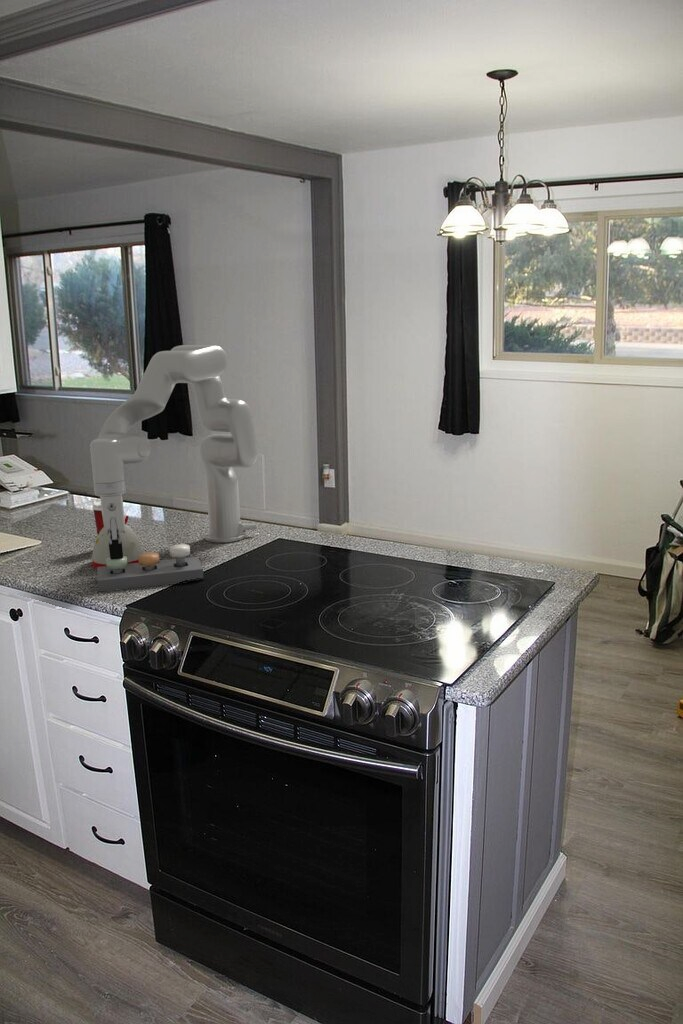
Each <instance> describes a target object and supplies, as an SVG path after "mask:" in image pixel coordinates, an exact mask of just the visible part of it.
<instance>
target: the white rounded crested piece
mask: <svg viewBox="0 0 683 1024" xmlns="http://www.w3.org/2000/svg"><path fill="white" fill-rule="evenodd" d="M124 518H125V530H126V532H125V533H123V532H120V540H121V542H122V550H123V556H126V557H127V563H128V564H132V563H139V560H138V556H139V555H140V554H143V553H144V549H143V547H142V544H141V542H140V540H139V538H138V536H137V534H136V533H135V532H134V530H133V529H132V528H131V527H130V526H129V525H128V521H129V516H128V515H126V517H124ZM99 520H100V521H101V523H102V525H103V526H104V522H103V520H102V519H101V518H99ZM109 543H110V541H109V534H108V535H107V534H106V531H105V527H103V528H102V530H101V531H100V532H99V534H97V536H96V538H95V541H94V545H93V550H92V554H91V563H92V567H93V568H95V569H97V567H103V566H107V565H106V559H107V558H109V557H110V551H109Z"/></svg>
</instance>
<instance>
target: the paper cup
mask: <svg viewBox="0 0 683 1024" xmlns="http://www.w3.org/2000/svg"><path fill="white" fill-rule="evenodd" d="M92 505H93V506H92V510H93V514H94V520H95V527H96V528H95V529H96V534H97V535H98V534H99V532H100V531H101V530H102V528H103V527H104V526H103V525H102V523H101V521H100V520H99V518H101V519H102V520H103V517H102V509H101V501H96V502H93V504H92Z"/></svg>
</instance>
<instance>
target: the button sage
mask: <svg viewBox="0 0 683 1024" xmlns="http://www.w3.org/2000/svg"><path fill="white" fill-rule="evenodd" d="M106 565H107V568H108V569H113V574H117V573H123V571H122V568H124V567H127V566H128V563H127V557H126V556H123V558H120V559H110V557H109V558H107V559H106Z"/></svg>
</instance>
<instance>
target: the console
mask: <svg viewBox="0 0 683 1024" xmlns="http://www.w3.org/2000/svg"><path fill="white" fill-rule="evenodd" d="M185 564H186V565H185V566H183V567H177V566H176V558H172V559H170V558H169V559H162V560H160V559H159V563H158V564H155V565H154V570H145V566H142V565H139V563H132V564H128V566H127V567H124V568H122V571H123V573H117V574H113V569H108V568H107V566H103V567H97V568H96V569H97V570H96V571H97V572H96V573H97V574H96V575H97V587H98V592H99V591H103V592H108V591H107V590H112V591H117V590H116V589H121V590H128V588H130V589H137V588H139V589H140V588H145V587H155V586H165V585H172V584H179V583H178V582H182V581H185V580H190V579H196V578H204V568H203V566H202V563H201V561H200V558H199V556H191V557H189V556H188V557H185Z"/></svg>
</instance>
